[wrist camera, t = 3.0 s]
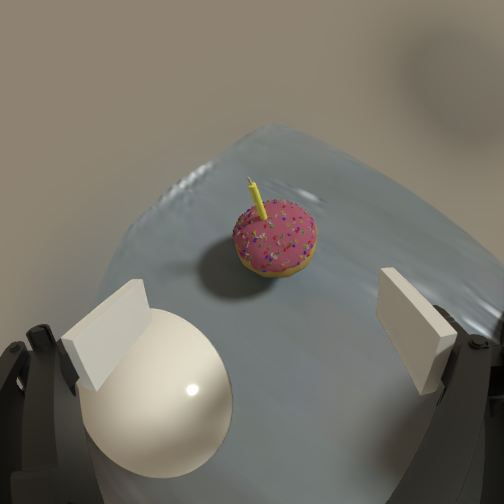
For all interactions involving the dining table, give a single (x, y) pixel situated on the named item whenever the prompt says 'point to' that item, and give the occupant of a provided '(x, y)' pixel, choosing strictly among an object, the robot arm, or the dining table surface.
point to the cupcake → (274, 237)
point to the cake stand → (162, 401)
